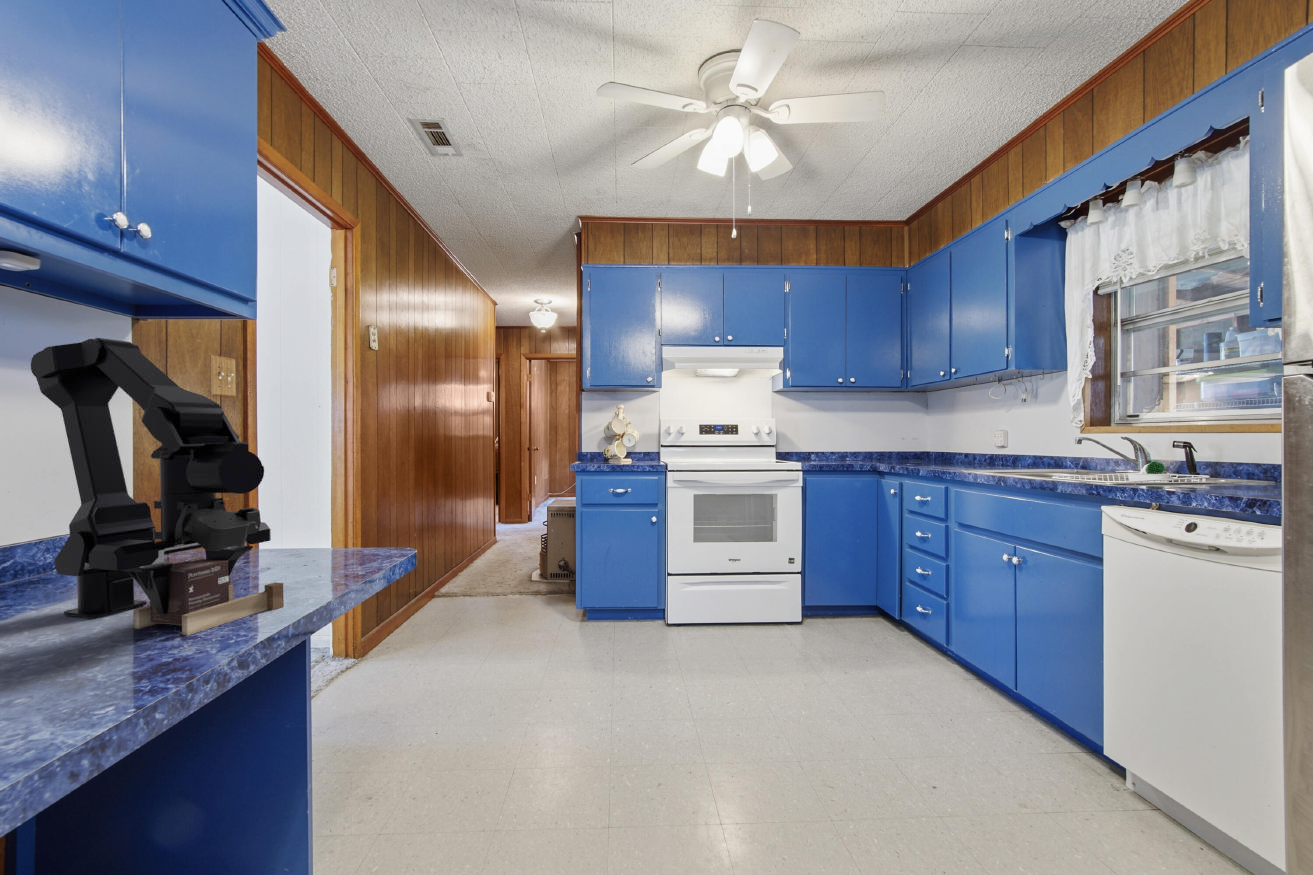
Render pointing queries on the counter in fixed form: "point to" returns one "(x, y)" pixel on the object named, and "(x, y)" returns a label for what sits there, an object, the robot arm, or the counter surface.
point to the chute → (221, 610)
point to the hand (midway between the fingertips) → (190, 605)
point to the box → (193, 589)
